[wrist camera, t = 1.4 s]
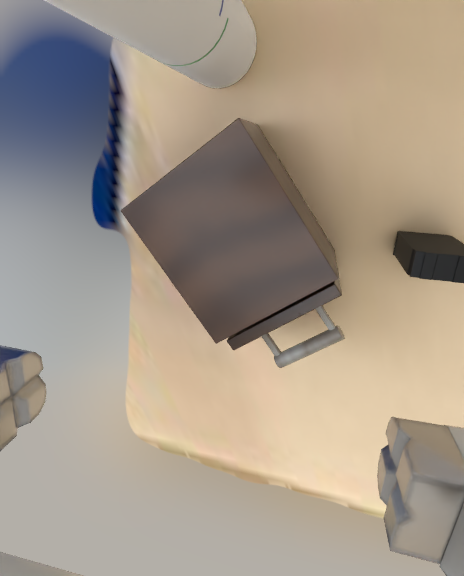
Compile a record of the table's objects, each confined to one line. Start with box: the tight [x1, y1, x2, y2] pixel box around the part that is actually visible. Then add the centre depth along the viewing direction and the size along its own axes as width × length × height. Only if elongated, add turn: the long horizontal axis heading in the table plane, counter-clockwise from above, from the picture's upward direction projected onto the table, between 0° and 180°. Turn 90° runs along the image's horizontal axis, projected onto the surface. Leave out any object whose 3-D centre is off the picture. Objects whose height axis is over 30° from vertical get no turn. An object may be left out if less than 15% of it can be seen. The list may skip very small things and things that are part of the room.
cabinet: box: [121, 118, 339, 343], centre depth 36 cm, size 15×13×9 cm
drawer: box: [227, 268, 344, 368], centre depth 36 cm, size 18×11×7 cm, turn 35°
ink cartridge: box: [393, 231, 464, 283], centre depth 33 cm, size 5×2×8 cm, turn 87°
